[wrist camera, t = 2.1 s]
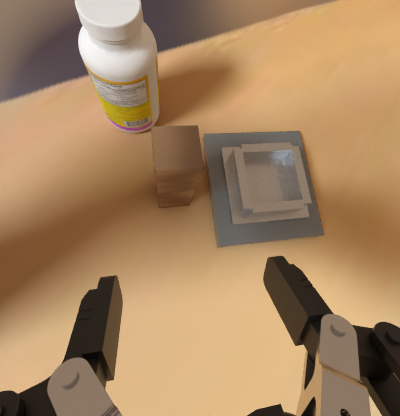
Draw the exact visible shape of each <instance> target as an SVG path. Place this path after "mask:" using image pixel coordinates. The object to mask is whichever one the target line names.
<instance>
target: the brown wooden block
mask: <svg viewBox="0 0 400 416" xmlns="http://www.w3.org/2000/svg"><path fill="white" fill-rule="evenodd" d="M151 133H152V146H153V158H154V171H155V179H156V186H157V194H158V202H159V208H165V207H178V206H189V205H190V202H191V199H192V197H193V194H194V192H195V189H196V186H197V184H198V181H199V179H200V176H201V173H202V171H203V161H202V154H201V146H200V138H199V131H198V125H197V126H156V127H151Z"/></svg>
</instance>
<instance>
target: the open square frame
mask: <svg viewBox="0 0 400 416" xmlns="http://www.w3.org/2000/svg"><path fill="white" fill-rule="evenodd" d="M220 151H221V158H222V164H223V171H224V178H225V184H226V191H227V198H228V204H229V211H230V218H231V224H232V225H241V224H251V223H261V222H272V221H282V220H292V219H302V218H308V217H310V216H309V212H308V207H307V205H309V204H311V203H312V201H311V197H310V193H309V188H308V184H307V180H306V176H305V171H304V167H303V163H302V159H301V154H300V150H299V146H293V145H290V142H288V143H262V144H241V146H240V147H222V148H221V150H220Z"/></svg>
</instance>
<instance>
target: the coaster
mask: <svg viewBox="0 0 400 416" xmlns="http://www.w3.org/2000/svg"><path fill="white" fill-rule="evenodd" d="M203 142H204V149H205V157H206V164H207V172H208V179H209V187H210V194H211V201H212V209H213V216H214V224H215V231H216V239H217V246H218V247H226V246H235V245H244V244H253V243H261V242H270V241H279V240H288V239H296V238H305V237H314V236H321V235H324V233H323V228H322V224H321V220H320V216H319V212H318V207H317V203H316V199H315V195H314V191H313V186H312V182H311V178H310V174H309V170H308V165H307V161H306V157H305V153H304V149H303V144H302V140H301V136H300V132H299V131H287V132H254V133H222V134H204V137H203ZM288 142H290V145H293V146H299V150H300V154H301V159H302V163H303V167H304V171H305V176H306V180H307V184H308V188H309V193H310V197H311V201H312V203H311V204H309V205H307V207H308V212H309V216H310V217H308V218H302V219H292V220H282V221H272V222H261V223H251V224H241V225H232V224H231V218H230V211H229V204H228V198H227V191H226V184H225V178H224V171H223V164H222V158H221V151H220V150H221V148H222V147H240V146H241V144H262V143H288Z"/></svg>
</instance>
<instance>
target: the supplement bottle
mask: <svg viewBox="0 0 400 416" xmlns="http://www.w3.org/2000/svg"><path fill="white" fill-rule="evenodd" d="M75 5H76V8H77V11H78V14H79V17H80V21H81V23H82V25H83V26H82V28H81V30H80V34H79V40H78V44H79V50H80V54H81V56H82V59H83V61H84V64H85V66H86V68H87V70H88V73H89V75H90V78H91V80H92V82H93V85H94V87H95V90H96V92H97V94H98V97H99V99H100V101H101V104H102V106H103V109H104V111H105V113H106V115H107V118H108V119H109V121H110V122H111V123H112V124H113V125H114V126H115V127H116V128H118V129H120V130H122V131H124V132H128V133H139V132H143V131H146V130H148V129H150V128H151V127H152V126H153V125H154V124H155V123H156V121H157V120H158V117H159V114H160V99H159V82H158V63H157V47H156V41H155V38H154V36H153V33H152V32H151V30H150V28H149V27H148V26H147V25H146V24H145V23H144V22H143V14H142V7H141V1H140V0H75Z"/></svg>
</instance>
